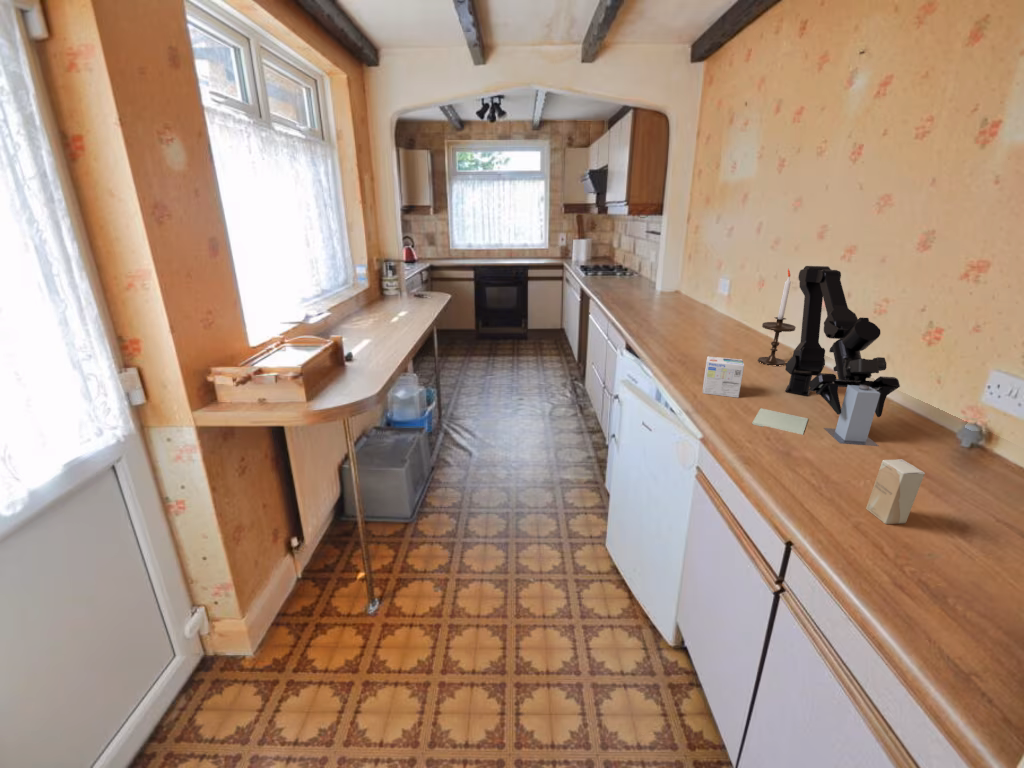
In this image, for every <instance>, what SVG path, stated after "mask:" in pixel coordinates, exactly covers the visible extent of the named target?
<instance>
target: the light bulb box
mask: <svg viewBox="0 0 1024 768" xmlns="http://www.w3.org/2000/svg"><path fill="white" fill-rule="evenodd" d="M744 368H745V363H744V361H743V359H739V358H729V357H720V356H719V357H717V356H716V357H715V356H708V355H707V357H706V362H705V370H704V376H703V383H702V384H703V385H702V394H703V395H704V394H706V395H712V396H721V397H730V398H740V393H741V385H742V380H743V375H744Z"/></svg>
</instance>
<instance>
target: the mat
mask: <svg viewBox="0 0 1024 768" xmlns="http://www.w3.org/2000/svg"><path fill="white" fill-rule="evenodd" d="M808 420H809V418H807V417H804V416H798V415H793V414H788V413H784V412H779V411H775V410H770V409H766V408H762V407H760V409H759V410H758V412H757V413H756V416H755V417H754V419H753V421H752V422H751V424H752V425H754V426H758V427H763V428H765V427H767V428H772V429H777V430H781V431H784V432H785V431H786V432H789V433H792V434H793V433H794V434H798V435H802V436H804V432H805V429H806V426H807V425H808Z"/></svg>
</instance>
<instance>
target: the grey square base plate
mask: <svg viewBox="0 0 1024 768" xmlns="http://www.w3.org/2000/svg"><path fill="white" fill-rule="evenodd" d="M823 429H824V431H826V432H827V433H828V434H829V435H830V436H831V437H832V438H834V440H836V442H838V444H843V445H853V446H854V445H856V446H857V445H858V446H868V447H869V446H870V447H880V446H879V445H878V443H876V442H875V441H874V440H872V439H871V438H870V437H869V436H868V437H867V440H866V442H862V441H848V440H844V439H843V438H841V437H840V436H839V435H838V434H837V433H836V432H835V430H836V428H832V427H831V428H830V427H823Z"/></svg>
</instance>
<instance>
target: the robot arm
mask: <svg viewBox="0 0 1024 768" xmlns="http://www.w3.org/2000/svg"><path fill="white" fill-rule="evenodd" d="M841 278H842V273H841V271H840V270H838V269H831V268H830V266H824V265H823V266H822V265H805V266H804V267H803V269H800V270H799V273H798V281H799V289H800V290H801V292H802V294H803V295H804V299H803V310H802V320H801V321H802V322H801V332H800V342H799V343H798V344H797V346H796V347H795V348H794V350H793V355H792V356H791V357H790V359H788V361H787V362H785V371H786V372H787V373H788V374H790V378H789V383H788V385H787V386H786V388H785V392H786V393H791V394H794V395H800V396H806V397H808V396H810V393H811V392H815V394H816V395H820V397H821V398H822V399H824V401H826V403H827V404H828V405H829V407H831V409H832V410H833V411H834V412H835V414H836V415H838V416H839V415H840V414H841V408H842V406H841V402H840V398H839V394H838V390H839V388H847V386H848V385H856V386H860V385H867V386H870V387H871V388H873V389H874V390H876V391H877V392H879V393H880V397H879V400H878V403H877V407H876V410H875V413H874V414H875V415H876V417H877V418H880V417H882V415H883V411H884V405H885V401H886V399H887V396H888V395H890V394H891V393H893V392H894V391H896V390H897V389H898V388H900V387H901V384H900V381H899V379H898V378H897V377H894V376H878V377H877V378H876V379H874V380H867V379H870V378H871V377H872V374H879V373H880V372H883V371H885V370H887V361H886V358H885V357H882V356H881V357H879V356H878V357H873V358H872V359H869V358H868V359H866V358H862V355H861V352H862V351H864V350H866V349H867V348H868V347H870V345H872V344H873V343H874V342H875V341H876V340H878V338H879V337H880V336H881V329H880V328H879V327H878V326H877V325H876V323H874V322H871V321H870V319H869V317H858V316H857V314H856V313H855V312H853V310H851V309H849V306H848V303H847V300H846V296H845V292H844V289H843V285H842V281H841ZM823 301H824V306H825V310H826V315H827V317H826V318H825V320H824V321H823V333H824V334H825V337H826V338H829V339H833V340H834V339H836V341H834V342H833V344H832V346H830V348H829V353H832V354H833V357H834V363H835V366H833V371H834V372H836V374H837V375H836V374H835V373H826V372H825V373H824V372H823V373H822V371H823V369H824V367H825V365H826V359H825V355H826V349H825V347H822V346H821V344H820V341H819V339H820V331H821V323H822V311H823V310H822V309H823ZM813 376H815V377H814V378H813ZM812 378H813V379H812Z"/></svg>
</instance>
